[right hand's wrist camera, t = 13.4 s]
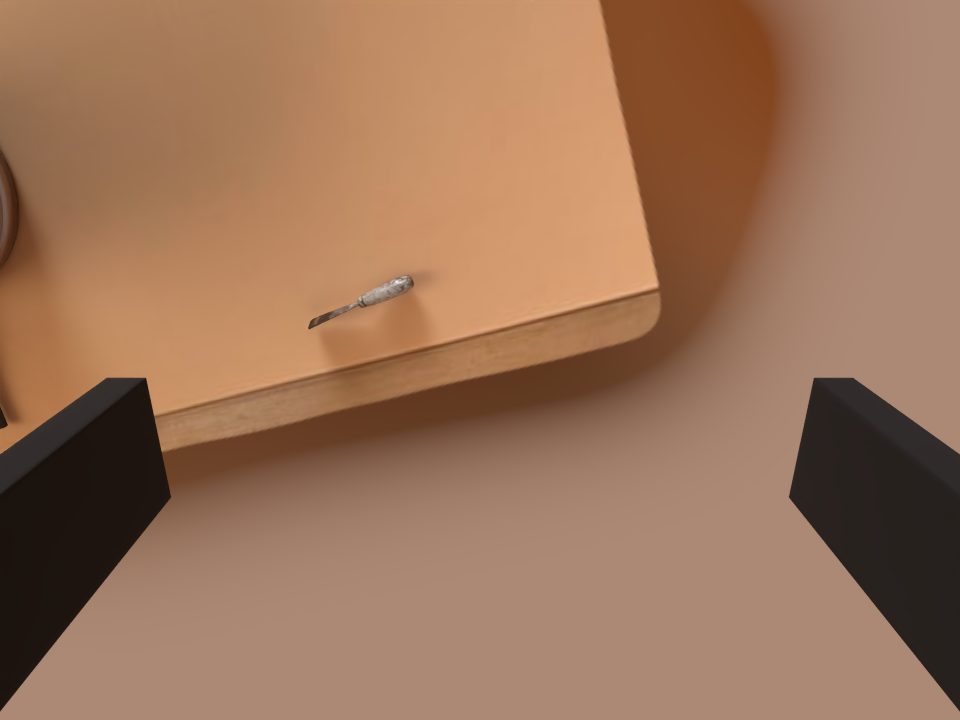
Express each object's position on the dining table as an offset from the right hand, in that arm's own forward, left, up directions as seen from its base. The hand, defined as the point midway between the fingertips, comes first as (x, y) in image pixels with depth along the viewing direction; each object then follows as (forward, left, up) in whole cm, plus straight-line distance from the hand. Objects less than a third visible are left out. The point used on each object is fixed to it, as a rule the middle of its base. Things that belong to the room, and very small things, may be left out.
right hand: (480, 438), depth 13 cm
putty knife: (-6, +8, -32) cm, 34 cm away
